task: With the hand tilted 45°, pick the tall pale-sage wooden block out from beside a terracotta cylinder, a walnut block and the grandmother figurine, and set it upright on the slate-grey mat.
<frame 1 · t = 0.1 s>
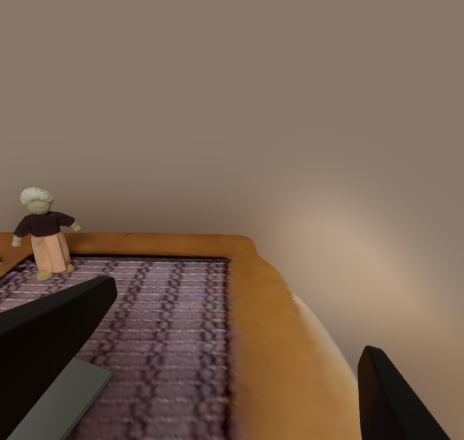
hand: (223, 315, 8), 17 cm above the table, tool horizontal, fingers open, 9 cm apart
grandmother figurine: (60, 271, 36), on the table
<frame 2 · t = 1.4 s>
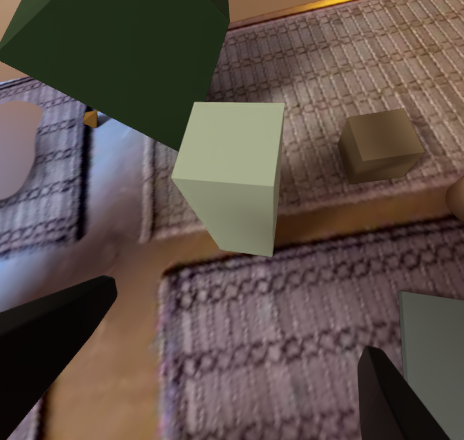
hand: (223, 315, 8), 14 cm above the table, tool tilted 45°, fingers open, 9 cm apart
walnut block: (367, 160, 25), on the table
sage block: (249, 228, 24), on the table
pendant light: (177, 112, 32), on the table
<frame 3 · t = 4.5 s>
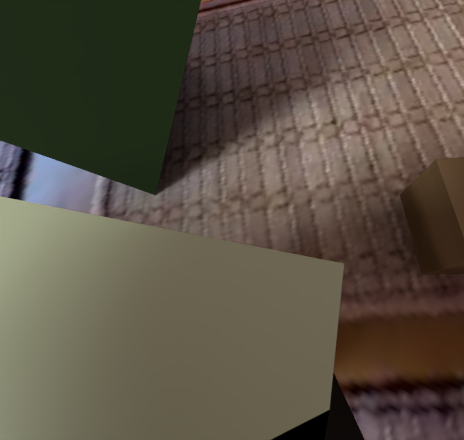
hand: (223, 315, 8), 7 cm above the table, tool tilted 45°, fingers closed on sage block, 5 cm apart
walnut block: (456, 230, 14), on the table
sage block: (240, 341, 14), on the table, touching gripper
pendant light: (150, 124, 22), on the table
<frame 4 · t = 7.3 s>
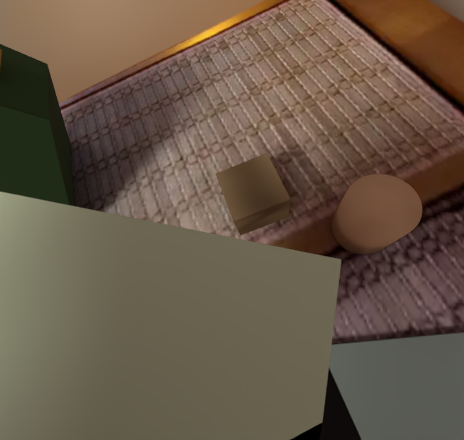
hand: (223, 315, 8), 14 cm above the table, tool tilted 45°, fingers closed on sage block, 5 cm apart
terracotta cylinder: (360, 227, 22), on the table
walnut block: (255, 204, 25), on the table
sage block: (243, 341, 14), point 7 cm above the table, touching gripper
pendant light: (62, 192, 30), on the table
slate mat: (412, 437, 16), on the table
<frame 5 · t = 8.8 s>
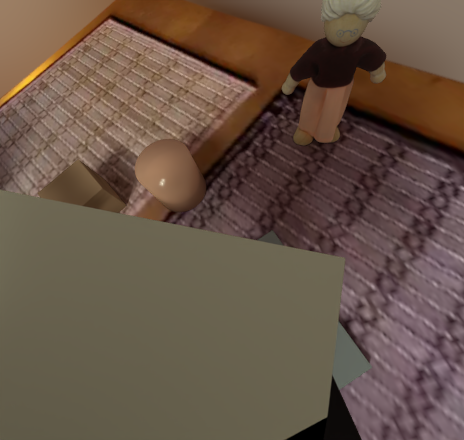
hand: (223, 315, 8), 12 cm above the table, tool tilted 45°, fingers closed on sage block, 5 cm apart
terracotta cylinder: (183, 190, 25), on the table
walnut block: (97, 207, 27), on the table
grandmother figurine: (321, 134, 25), on the table
sage block: (243, 341, 14), point 6 cm above the table, touching gripper
slate mat: (252, 332, 19), on the table
when the fingers open (8 cm above the table, at t = 10.1 s): sage block stays where it is, resting on slate mat.
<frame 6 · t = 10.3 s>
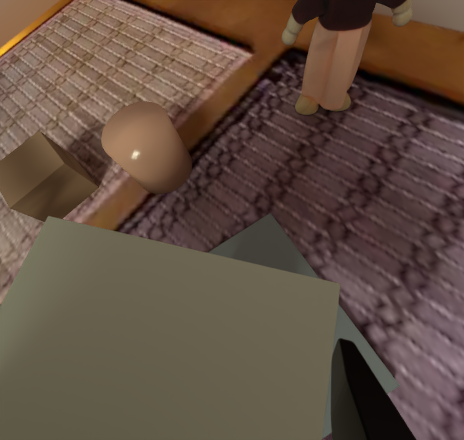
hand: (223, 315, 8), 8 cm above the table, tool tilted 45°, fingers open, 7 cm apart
terracotta cylinder: (165, 168, 22), on the table
walnut block: (66, 190, 23), on the table
grandmother figurine: (328, 102, 21), on the table
sage block: (243, 339, 15), point 1 cm above the table, touching slate mat
slate mat: (245, 338, 16), on the table
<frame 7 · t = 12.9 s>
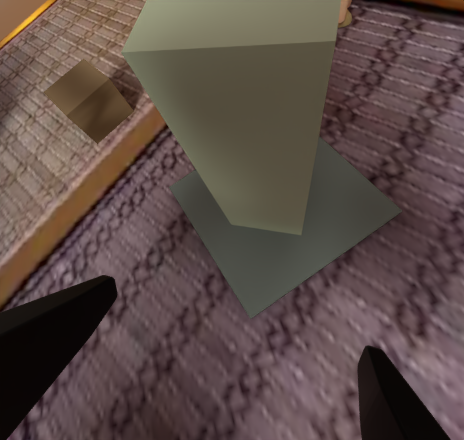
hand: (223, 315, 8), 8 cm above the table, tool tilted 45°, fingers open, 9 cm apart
walnut block: (104, 117, 26), on the table
grandmother figurine: (331, 22, 24), on the table
sage block: (271, 197, 18), point 1 cm above the table, touching slate mat
slate mat: (271, 201, 19), on the table
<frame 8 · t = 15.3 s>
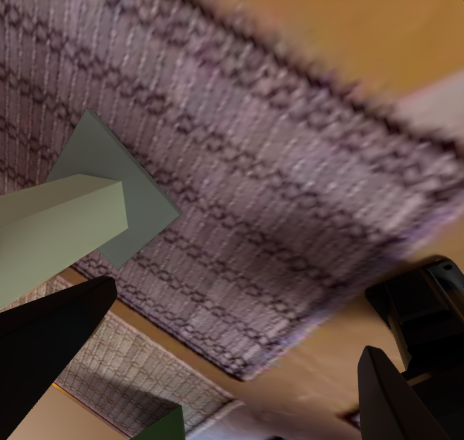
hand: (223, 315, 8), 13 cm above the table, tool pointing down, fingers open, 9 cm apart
sage block: (103, 201, 25), point 1 cm above the table, touching slate mat
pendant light: (170, 422, 41), on the table
slate mat: (108, 199, 25), on the table
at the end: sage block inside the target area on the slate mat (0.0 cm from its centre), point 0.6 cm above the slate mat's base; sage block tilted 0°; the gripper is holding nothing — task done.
